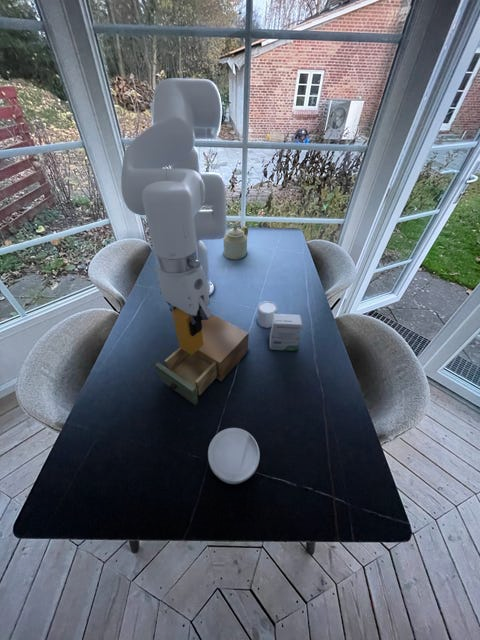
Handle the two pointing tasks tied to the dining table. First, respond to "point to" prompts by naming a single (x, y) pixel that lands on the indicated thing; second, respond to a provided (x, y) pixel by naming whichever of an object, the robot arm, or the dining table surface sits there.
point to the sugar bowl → (236, 242)
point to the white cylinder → (266, 313)
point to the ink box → (285, 331)
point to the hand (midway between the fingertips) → (188, 326)
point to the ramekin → (233, 455)
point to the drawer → (188, 373)
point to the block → (186, 332)
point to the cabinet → (223, 344)
